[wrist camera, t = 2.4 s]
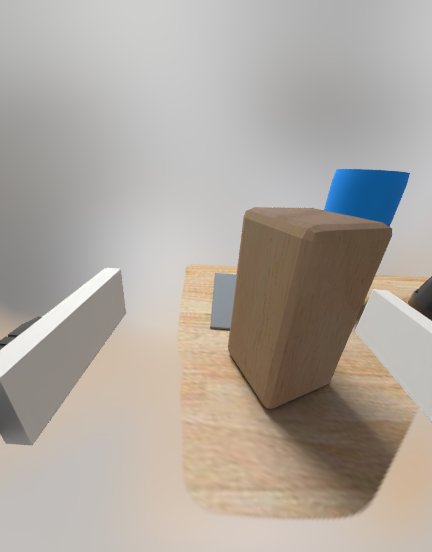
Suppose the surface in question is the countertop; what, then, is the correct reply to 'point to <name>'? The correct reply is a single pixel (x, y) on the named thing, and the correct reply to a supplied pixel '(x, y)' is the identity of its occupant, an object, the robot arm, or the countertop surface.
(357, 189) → the thermos
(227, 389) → the countertop surface
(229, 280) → the mat
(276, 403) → the block
